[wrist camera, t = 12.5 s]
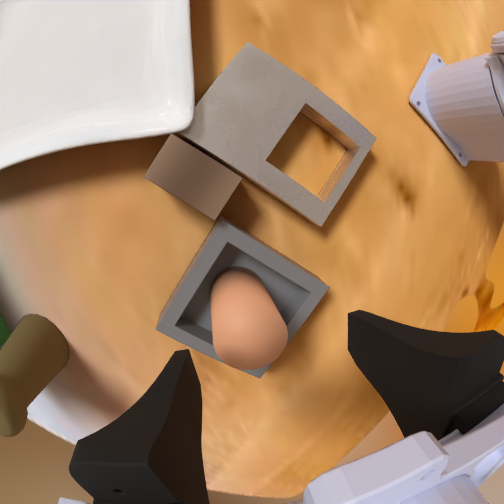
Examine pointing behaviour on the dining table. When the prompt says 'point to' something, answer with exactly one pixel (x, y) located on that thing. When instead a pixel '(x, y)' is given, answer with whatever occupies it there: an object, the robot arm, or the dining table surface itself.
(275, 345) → the dowel
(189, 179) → the block
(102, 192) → the dining table surface
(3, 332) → the ramp block with notch
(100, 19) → the salad plate
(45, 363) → the brown pawn
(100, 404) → the dining table surface
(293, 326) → the tray
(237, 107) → the grey flat frame
